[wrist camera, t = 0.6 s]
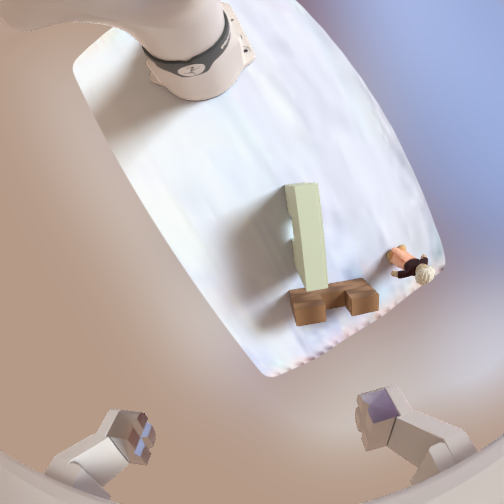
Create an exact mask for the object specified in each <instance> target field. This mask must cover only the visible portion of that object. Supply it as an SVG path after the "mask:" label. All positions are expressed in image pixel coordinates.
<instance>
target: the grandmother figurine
mask: <svg viewBox="0 0 504 504" xmlns="http://www.w3.org/2000/svg"><path fill="white" fill-rule="evenodd" d="M387 259H388V260H389V262H390V263H391V264H394V265H396V266H397V267H399V268H401V269H403V270H404V271H392V272H391V275H392V276H395V277H398V278H405V277H409V276H415V278H416V282H417V283H419V284H421V285H424V284H427V283H429V282H430V281H432V280H433V278H434V269H433V268H432V267H431V266H428V265H427V264H428V258H427V257H426V255H422V256H421V259H420V260H419V259H417V258H415V257H413V256H412V255H410V254H409V253H408V252H406V247H405V245H400V246H399V247H398V248H397V247H394V248H393V249H392V250H391V251H389V252H388V253H387Z"/></svg>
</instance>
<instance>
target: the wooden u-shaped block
mask: <svg viewBox="0 0 504 504" xmlns="http://www.w3.org/2000/svg"><path fill="white" fill-rule="evenodd" d="M289 293H290V301H291V307H292V311H293V314H294V318H295V322H296V325H297V326H302V325H308V324H314V323H320V322H325V321H326V309H331V308H337V307H342V306H345V307H346V308H347V309H348V311H349V312H350V314H351V315H352V316H356V315H360V314H365V313H369V312H374V311H378V309H379V294H378V293H377V292H376V291H375V290H374V289H373V288H372V287H371V286H370V285H369V284H368V283H367V282H366V281H365V280H364V279H363V278H358V279H353V280H347V281H342V282H336V283H330V284H328V288H326V289H320V290H314V291H308V292H307V291H306V289H305V288H300V289H294V290H289Z"/></svg>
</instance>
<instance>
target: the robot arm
mask: <svg viewBox="0 0 504 504" xmlns="http://www.w3.org/2000/svg"><path fill="white" fill-rule="evenodd" d="M0 19H1V21H2V22H3V23H5V24H6V25H7V26H10V27H11V28H14V29H17V30H21V31H33V30H37V29H40V28H43V27H47V26H51V25H55V24H61V23H69V22H70V23H71V22H86V23H96V24H102V25H108V26H112V27H115V28H119V29H121V30H124V31H126V32H127V33H129V34H130V35H131V36H132V37H134V38H135V39H136V40H137V41H138V42H139V43H140V44H141V45H142V48H143V50H144V52H145V54H146V56H147V60H146V64H147V66H148V67H149V69H150V80H151V81H152V82H153V83H155V84H159V85H162V86H165V87H166V88H167V89H168V90H169V91H170V92H171V93H173V94H174V95H176V96H177V97H180V98H182V99H186V100H193V101H199V100H206V99H210V98H213V97H216V96H218V95H220V94H222V93H224V92H225V91H226V90H228V89H229V88H230V87H231V86H232V85H233V84H234V83H235V82H236V80H237V79H238V77H239V76H240V74H241V72H242V70H243V69H244V68H245V67H247V66H248V65H249V64H251V63H252V62H253V61H254V60H255V54H254V51H253V49H252V47H251V45H250V43H249V41H248V39H247V37H246V35H245V33H244V31H243V29H242V27H241V25H240V23H239V21H238V19H237V17H236V15H235V14H234V12H233V10H232V8H231V6H230V5H229V4H227V3H222V2H221V0H0ZM245 50H247V51H248V52H244V51H245ZM357 403H358V407H357V408H356V412H355V419H356V424H357V428H358V431H360V432H362V433H363V434H362V442H363V445H364V447H365V450H366V451H370V450H373V449H377V448H381V447H384V446H387V447H388V448H390V449H391V450H393V451H394V452H395V453H397V454H398V455H400V456H402V457H403V458H404V459H406V460H407V461H409V462H410V463H412V464H413V465H415V466H416V467H418V470H417V471H416V473H415V474H414V476H413V477H412V479H411V484H412V486H410V487H407V488H405V489H402V490H399V491H397V492H394V493H391V494H388V495H385V496H382V497H379V498H376V499H373V500H370V501H366V502H363V503H359V504H504V434H503V435H501V436H500V437H499V438H497V439H496V440H494V441H493V442H492V443H490V444H489V445H487V446H486V447H484V448H483V449H481V450H480V451H477V450H476V448H475V446H474V445H473V443H472V442H471V440H470V439H469V437H468V436H467V434H466V433H465V431H464V430H463V429H461V428H458V427H455V426H453V425H451V424H448V423H446V422H443V421H441V420H439V419H436V418H434V417H431V416H429V415H427V414H425V413H422V412H420V411H418V410H415V411H413V410H412V408H411V407H410V405H409V403H408V402H407V400H406V398H405V397H404V395H403V393H402V392H401V390H400V389H399V387H398V385H396V384H394V385H390V386H387V387H384V388H380V389H377V390H373V391H370V392H366V393H362V394H359V395H358V397H357ZM147 420H148V418H147V416H146V415H145V413H142V412H133V411H125V410H118V409H111V410H109V411H108V413H107V415H106V417H105V418H104V420H103V422H102V424H101V426H100V427H99V429H98V431H97V433H96V434H92V435H90V436H88V437H87V438H85V439H83V440H82V441H80V442H78V443H76V444H75V445H73V446H71V447H70V448H68V449H66V450H64V451H63V452H61V453H59V454H57V455H55V457H54V459H53V460H52V462H51V464H50V465H49V467H48V469H47V471H46V472H45V474H42V473H40V472H38V471H36V470H34V469H32V468H30V467H28V466H27V465H25V464H23V463H21V462H19V461H18V460H16V459H14V458H13V457H11V456H9V455H8V454H6V453H5V452H3V451H2V450H0V504H120V503H117V502H113V501H110V497H111V496H110V494H109V493H108V492H107V491H106V490H104V489H103V488H102V487H103V486H105V485H106V484H107V483H108V482H109V481H110V480H111V479H112V478H114V477H115V476H116V475H117V474H118V473H120V472H121V471H122V470H123V469H124V468H125V467H126V466H127V465H128V464H129V463H133V464H140V465H147V464H148V461H149V458H150V455H151V453H150V450H149V449H150V448H151V447H153V445H154V443H155V431H154V428H153V426H152V425H150V424H149V423H148V422H147Z"/></svg>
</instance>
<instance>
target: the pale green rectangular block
mask: <svg viewBox="0 0 504 504" xmlns="http://www.w3.org/2000/svg"><path fill="white" fill-rule="evenodd" d="M284 188H285V194H286V201H287V208H288V214H289V215H290V216H291V218H292V226H293V234H294V238H293V239H292V246H293V255H294V263H295V267H296V269H297V271H298V273H299V276H300V278H301V280H302V282H303V284H304V287H305V289H306V291H307V292H308V291H314V290H320V289H326V288H328V278H327V264H326V252H325V241H324V231H323V222H322V213H321V205H320V197H319V189H318V183H295V184H287V185H284Z"/></svg>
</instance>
